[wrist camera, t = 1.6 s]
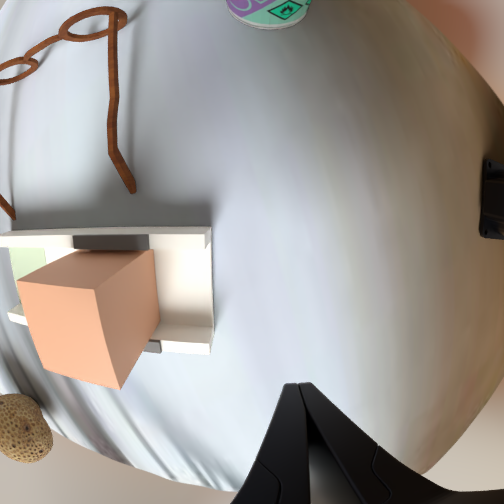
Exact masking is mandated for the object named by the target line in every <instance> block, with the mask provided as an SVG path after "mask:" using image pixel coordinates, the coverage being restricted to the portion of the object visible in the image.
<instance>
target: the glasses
mask: <svg viewBox="0 0 504 504" xmlns="http://www.w3.org/2000/svg"><path fill="white" fill-rule="evenodd" d="M95 15H109V27H108V29H106V30H103V31H101V32H97V33H94V34H88V35H77V34H72V33H70V32H68V29H69V28H70V27H71V26H72V25H73V24H75V23H76V22H78V21H80V20H82V19H85V18H88V17H91V16H95ZM118 20H119V21H118ZM126 23H127V14H126V13H125V12H124V11H123V10H121V9H119V8H116V7H108V6H103V7H96V8H91V9H88V10H85V11H82V12H80V13H78V14H76V15H74V16H72V17H70V18H69V19H68V20H66V21H65V22H64V23H63V24H62V25H61V27H60V29H59V33H58V35H55V36H52V37H49V38H47V39H46V40H44V41H42V42H41V43H39V44H38V45H36V46H34V47H33V48H31V49H30V50H29V51H27V52H26V54H25V55H24V57H17V58H14V59H11V60H9V61H6V62H4V63H2V64H1V65H0V71H2V70H4V69H5V68H8V67H10V66H13V65H17V64H28V65H31V68H30V69H28V70H27V71H26V72H24V73H22V74H20V75H18V76H16V77H13V78H9V79H0V85H7V84H11V83H14V82H17V81H19V80H21V79H23V78H25V77H27V76H28V75H30V74H31V73H33V72H34V71H36V69H37V68H38V61H37V60H36V59H34V58H30V57H31V56H33V55H34V54H36V53H37V52H39V51H40V50H42V49H44V48H45V47H47V46H49V45H50V44H52V43H54V42H57V41H59V40H62V39H64V40H67V41H73V42H85V41H91V40H95V39H99V38H101V37H104V36H107V35H108V72H109V91H110V101H109V109H108V118H107V138H108V154H109V156H110V158H111V160H112V162H113V164H114V165H115V167H116V169H117V171H118V173H119V174H120V176H121V178H122V180H123V181H124V183H125V185H126V187H127V188H128V190H129V192H130V194H133V193H136V184H135V180H134V178H133V176H132V174H131V172H130V170H129V168H128V167H127V165H126V163H125V161H124V159H123V157H122V155H121V153H120V151H119V149H118V147H117V113H118V104H119V83H118V58H117V31H119V30H120V29H122V28H123V27H124V26H125V25H126ZM0 206H1V207H2V209H3V210H4V211H5V212H6V213H7V214H8V215H9V216H10V217H11V218H12V219H13V220H16V218H15V210H14V209H13V208H12V207H11V206H10V205H9V204H8V202H7V201H6V200H5V199H4V198H3V197H2V195H1V194H0Z"/></svg>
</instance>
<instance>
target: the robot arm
mask: <svg viewBox="0 0 504 504" xmlns="http://www.w3.org/2000/svg"><path fill="white" fill-rule="evenodd" d="M484 231H485V232H484ZM480 236H481V237H484V238H491V239H501V240H504V165H503V164H501V163H498V162H496V161H494V160H491V159H485V160H484V176H483V202H482V214H481V224H480ZM230 504H504V489H499V490H489V491H472V492H471V491H470V492H458V491H452V490H448V489H445V488H443V487H441V486H439V485H437V484H435V483H433V482H432V481H430V480H428V479H426V478H425V477H423V476H421V475H420V474H418V473H416V472H415V471H413V470H411V469H410V468H408V467H407V466H405V465H404V464H402V463H401V462H400V461H398V460H397V459H396V458H394V457H393V456H392V455H390V454H389V453H388V452H387V451H386V450H384V449H383V448H382V447H381V446H380V445H379V446H378V444H377V443H376V442H375V441H374V440H373V439H372V438H370V437H369V436H368V435H367V434H366V433H365V432H364V431H363V430H361V429H360V428H359V427H358V426H357V425H356V424H355V423H354V422H353V421H351V420H350V419H349V418H348V417H347V416H346V415H345V414H344V413H343V412H342V411H341V410H340V409H338V408H337V407H336V406H335V405H334V404H333V403H332V402H331V401H330V400H329V399H328V398H327V397H326V396H325V395H324V394H323V393H322V392H321V391H319V390H318V389H317V388H316V387H315V386H314V385H313V384H312V383H310V382H305V383H299V384H297V383H286V384H284V386H283V389H282V392H281V395H280V398H279V400H278V403H277V406H276V409H275V411H274V414H273V417H272V419H271V422H270V424H269V427H268V430H267V432H266V435H265V437H264V440H263V442H262V444H261V447H260V449H259V452H258V454H257V456H256V459H255V461H254V463H253V465H252V468H251V470H250V472H249V474H248V476H247V478H246V480H245V482H244V484H243V485H242V487H241V489H240V490H239V492H238V493H237V495H236V496H235V498H234V499H233V501H232V502H231V503H230Z"/></svg>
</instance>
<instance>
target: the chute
mask: <svg viewBox="0 0 504 504" xmlns="http://www.w3.org/2000/svg"><path fill="white" fill-rule="evenodd" d="M0 247H9V252H10V258H11V264H12V270H13V275H14V279H15V284H16V288H17V293H18V297H19V300H20V304H19V305H17V306H16V307H14V308H13V309H11V310H10V311H8V316H9V319H10V321H13V322H17V323H20V324H24V325H27V326H28V323H27V320H26V317H25V314H24V310H23V307H22V303H21V299H20V295H19V291H18V287H17V282H16V280H18V279H20V278H22V277H24V276H26V275H27V274H29V273H31V272H33V271H35V270H37V269H39V268H41V267H43V266H45V265H47V264H49V263H51V262H53V261H55V260H57V259H59V258H61V257H63V256H66V255H68V254H70V253H72V252H74V251H76V250H78V249H86V250H144V251H148V250H149V249H153V250H154V264H155V275H156V286H157V295H158V304H159V312H160V319H161V321H160V323H159V324H158V326H157V328H156V329H155V331H154V333H153V334H152V336H151V338H150V339H149V341H148V343H147V344H146V346H145V348H144V349H143V351H144V352H152V353H161V352H162V351H169V352H180V353H193V354H208V355H210V351H211V347H212V342H213V338H214V313H213V286H212V241H211V227H96V228H62V229H37V230H16V231H9V232H6V233H2V234H0Z"/></svg>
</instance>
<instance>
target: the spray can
mask: <svg viewBox="0 0 504 504" xmlns="http://www.w3.org/2000/svg"><path fill="white" fill-rule="evenodd" d="M226 2H227V6H228V9H229V12H230V13H231V15H232V16H233V17H234V18H235V19H237V20H238V21H240V22H241V23H243V24H245V25H248V26H251V27H255V28H259V29H268V30H270V29H282V28H287V27H290V26H293V25H295V24H297V23H298V22H300V21H301V20H302V19H303V18H304V16H305V15H306V13H307V11H308V8H309V5H310V2H311V0H226Z"/></svg>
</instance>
